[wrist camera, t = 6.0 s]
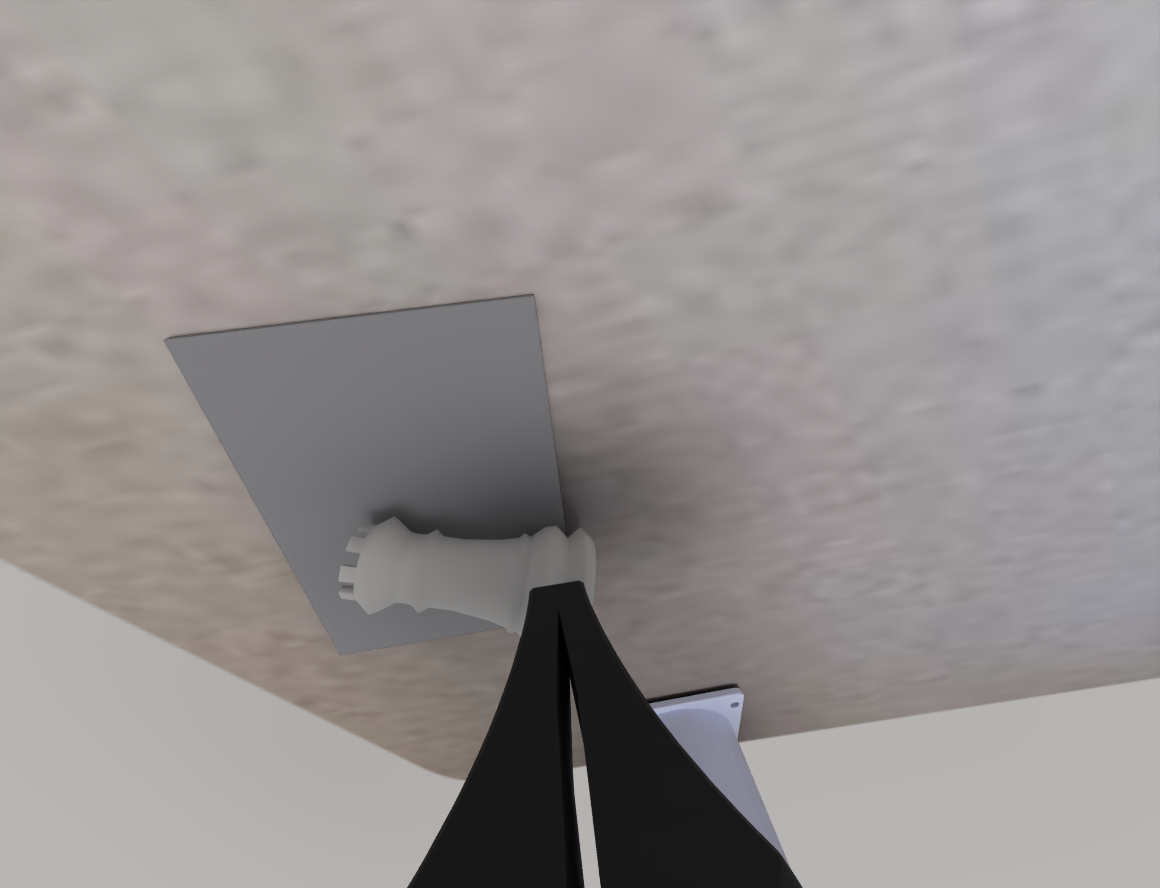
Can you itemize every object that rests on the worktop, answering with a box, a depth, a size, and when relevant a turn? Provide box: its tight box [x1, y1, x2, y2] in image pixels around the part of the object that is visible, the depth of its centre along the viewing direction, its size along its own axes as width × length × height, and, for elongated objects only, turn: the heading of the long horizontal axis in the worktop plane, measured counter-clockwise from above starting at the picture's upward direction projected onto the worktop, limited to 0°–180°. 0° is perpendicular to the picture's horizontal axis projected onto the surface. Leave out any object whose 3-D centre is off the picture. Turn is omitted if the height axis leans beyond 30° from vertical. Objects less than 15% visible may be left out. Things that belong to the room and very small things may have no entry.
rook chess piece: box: [338, 516, 597, 637], centre depth 16 cm, size 4×4×8 cm
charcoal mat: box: [164, 294, 567, 655], centre depth 16 cm, size 14×10×1 cm
